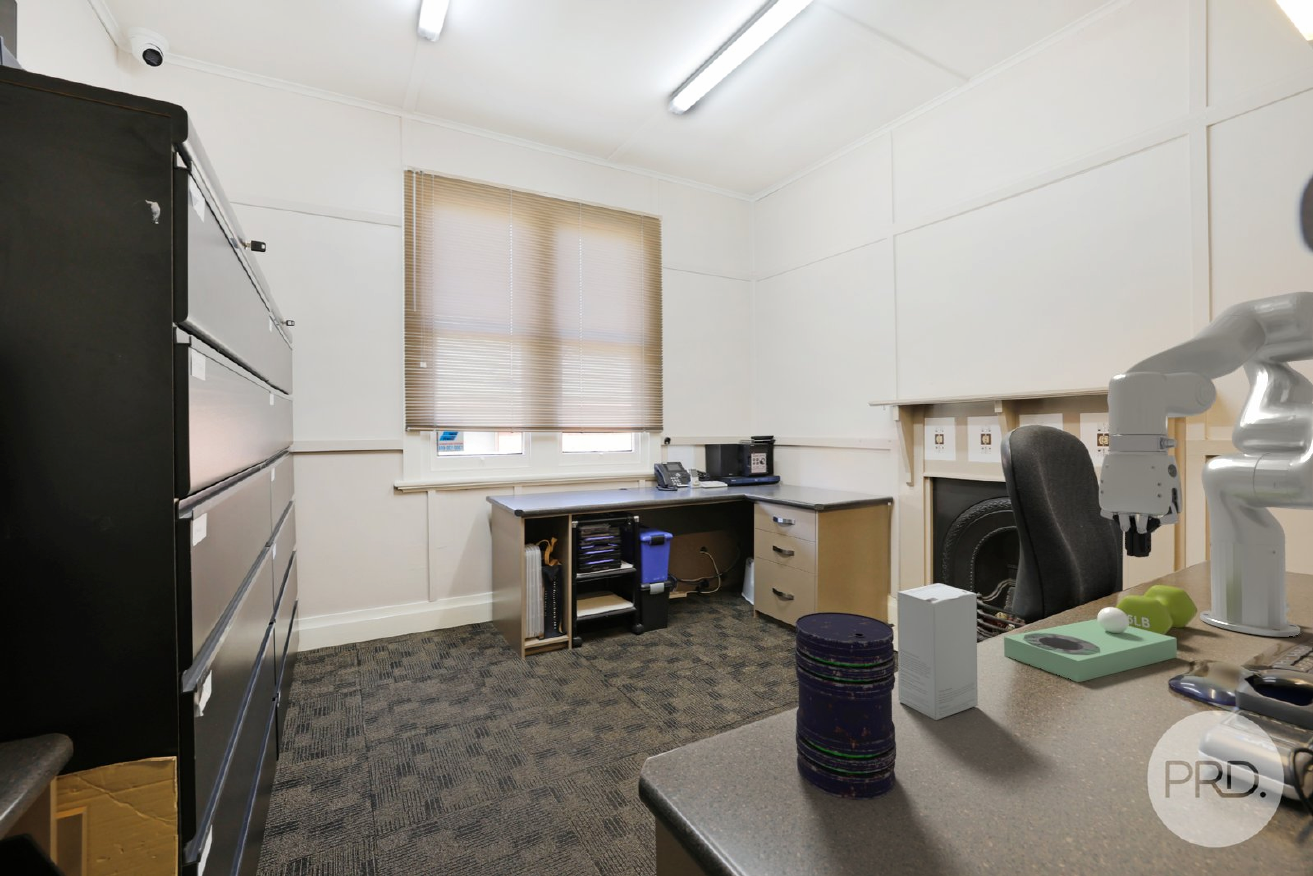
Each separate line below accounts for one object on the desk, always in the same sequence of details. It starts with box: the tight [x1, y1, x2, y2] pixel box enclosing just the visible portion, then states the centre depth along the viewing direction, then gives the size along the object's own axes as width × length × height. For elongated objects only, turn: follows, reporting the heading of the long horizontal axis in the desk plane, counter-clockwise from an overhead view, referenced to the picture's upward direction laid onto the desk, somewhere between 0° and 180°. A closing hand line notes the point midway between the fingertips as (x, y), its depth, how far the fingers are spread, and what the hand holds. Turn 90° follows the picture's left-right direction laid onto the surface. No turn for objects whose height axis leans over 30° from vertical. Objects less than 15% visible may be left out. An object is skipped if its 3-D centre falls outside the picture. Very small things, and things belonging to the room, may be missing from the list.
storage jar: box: [794, 611, 897, 801], centre depth 59 cm, size 10×10×15 cm
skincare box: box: [896, 582, 979, 721], centre depth 73 cm, size 8×6×15 cm
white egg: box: [1097, 606, 1129, 633], centre depth 92 cm, size 4×4×4 cm
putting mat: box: [1003, 618, 1178, 683], centre depth 89 cm, size 24×11×3 cm, turn 112°
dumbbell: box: [1114, 584, 1198, 635], centre depth 101 cm, size 16×8×7 cm, turn 122°
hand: (1137, 555), depth 94 cm, fingers closed
